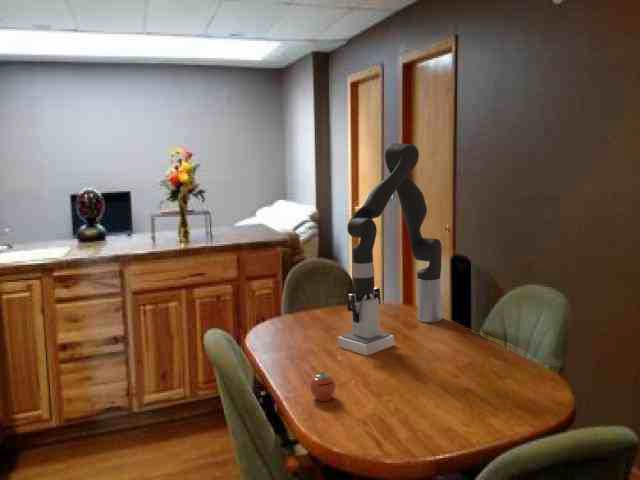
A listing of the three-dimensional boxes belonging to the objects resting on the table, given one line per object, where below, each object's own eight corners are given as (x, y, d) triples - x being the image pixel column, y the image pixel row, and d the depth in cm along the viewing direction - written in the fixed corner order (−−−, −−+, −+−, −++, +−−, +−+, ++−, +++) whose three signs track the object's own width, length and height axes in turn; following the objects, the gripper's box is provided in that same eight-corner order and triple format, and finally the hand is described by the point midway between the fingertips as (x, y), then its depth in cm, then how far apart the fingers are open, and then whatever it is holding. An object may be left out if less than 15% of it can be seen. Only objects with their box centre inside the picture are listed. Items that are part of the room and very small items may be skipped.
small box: (380, 335, 203) (379, 299, 201) (367, 339, 199) (366, 302, 197) (364, 330, 209) (363, 295, 207) (351, 334, 205) (350, 298, 203)
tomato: (314, 405, 157) (312, 377, 156) (307, 395, 164) (305, 368, 163) (339, 401, 159) (338, 373, 158) (331, 391, 166) (330, 364, 165)
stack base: (365, 337, 214) (365, 326, 213) (393, 345, 204) (393, 334, 203) (338, 346, 205) (337, 335, 204) (366, 355, 195) (366, 344, 194)
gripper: (369, 270, 208) (371, 313, 210) (341, 276, 199) (343, 322, 201) (385, 272, 202) (386, 317, 205) (356, 279, 193) (358, 326, 195)
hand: (365, 319), depth 203 cm, fingers open, 8 cm apart
